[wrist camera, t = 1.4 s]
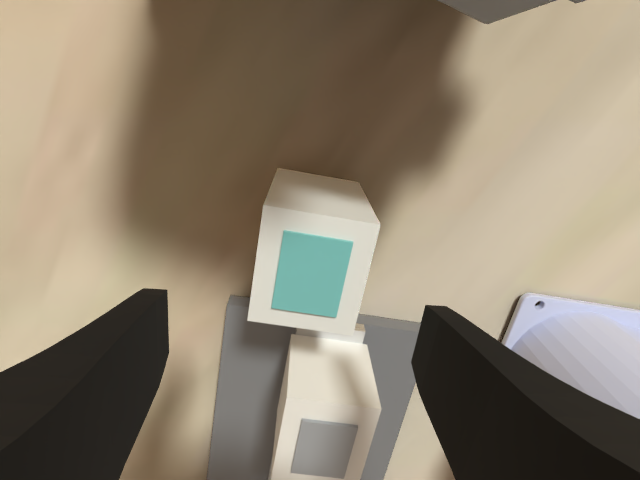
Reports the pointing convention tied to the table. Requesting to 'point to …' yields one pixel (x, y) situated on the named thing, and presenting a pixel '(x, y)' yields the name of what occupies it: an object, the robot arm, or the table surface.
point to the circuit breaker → (495, 8)
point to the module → (313, 253)
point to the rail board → (265, 384)
